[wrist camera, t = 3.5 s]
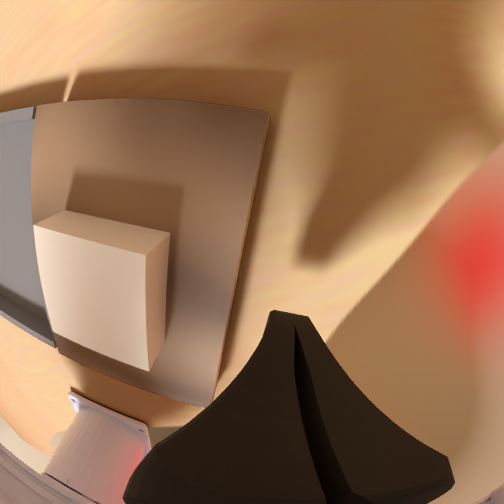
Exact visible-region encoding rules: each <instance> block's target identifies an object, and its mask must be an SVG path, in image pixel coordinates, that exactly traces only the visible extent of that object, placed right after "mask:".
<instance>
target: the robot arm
mask: <svg viewBox="0 0 504 504" xmlns="http://www.w3.org/2000/svg"><path fill="white" fill-rule="evenodd" d="M68 396H69V398H70V401H71V403H72V405H73V407H74V409H75V411H76V412H77V415H76V417H75V418H74V420H73V422H72V423H71V425H70V427H69V428H68V430H67V432H66V434H65V435H64V437H63V439H62V441H61V442H60V444H59V446H58V448H57V449H56V452H55V453H54V455H53V457H52V459H51V460H50V462H49V464H48V466H47V468H46V470H45V471H44V473H42V474H41V475H40V474H39V473H37V472H36V471H34V470H33V469H32V468H30V467H29V466H27V465H26V464H25V463H24V462H22V461H21V460H19V459H18V458H17V457H16V456H15V455H13V454H12V453H11V452H10V451H9V450H8V449H6V448H5V447H4V446H3V445H2V444H1V443H0V504H427V503H429V502H431V501H433V500H435V499H436V498H438V497H440V496H441V495H443V494H445V493H446V492H447V491H449V490H450V489H451V488H452V487H453V485H454V484H455V480H454V477H453V473H452V470H451V466H450V463H449V460H448V458H447V456H445V455H443V454H441V453H439V452H438V451H436V450H434V449H432V448H430V447H429V446H427V445H425V444H423V443H422V442H420V441H419V440H417V439H416V438H414V437H413V436H411V435H410V434H408V433H407V432H406V431H404V430H403V429H402V428H400V427H399V426H398V425H397V424H395V423H394V422H393V421H392V420H390V419H389V418H388V417H387V416H386V415H385V414H384V413H382V412H381V411H380V410H379V409H378V408H377V407H376V406H375V405H374V404H373V403H372V402H371V401H370V400H369V399H368V398H367V397H366V396H365V395H364V394H363V393H362V392H361V391H360V390H359V388H358V387H357V386H356V385H355V384H354V383H353V381H352V380H351V379H350V378H349V377H348V375H347V374H346V373H345V371H344V370H343V369H342V367H341V366H340V365H339V363H338V362H337V361H336V359H335V358H334V356H333V355H332V353H331V352H330V351H329V349H328V347H327V346H326V344H325V343H324V341H323V340H322V338H321V336H320V335H319V333H318V332H317V330H316V328H315V327H314V325H313V323H312V322H311V320H310V319H309V317H308V316H303V315H297V314H292V313H287V312H282V311H277V310H273V311H271V312H270V313H269V317H268V320H267V324H266V327H265V331H264V334H263V337H262V339H261V341H260V343H259V345H258V347H257V348H256V350H255V351H254V353H253V355H252V356H251V358H250V359H249V361H248V362H247V364H246V365H245V366H244V368H243V369H242V370H241V372H240V373H239V374H238V375H237V377H236V378H235V379H234V380H233V381H232V382H231V384H230V385H229V386H228V387H227V388H226V389H225V390H224V391H223V392H222V393H221V394H220V395H219V396H218V397H217V398H216V399H215V400H214V401H213V402H212V403H211V404H210V405H209V406H208V407H206V408H205V409H204V410H203V411H202V412H201V413H199V414H198V415H197V416H196V417H195V418H193V419H192V420H191V421H190V422H188V423H187V424H186V425H184V426H183V427H182V428H180V429H179V430H178V431H176V432H174V433H173V434H171V435H170V436H168V437H167V438H165V439H164V440H162V441H161V442H159V443H158V444H156V445H155V446H154V447H153V448H152V446H151V442H150V437H149V433H148V428H147V426H146V425H145V424H144V423H142V422H139V421H137V420H134V419H131V418H129V417H126V416H124V415H121V414H119V413H116V412H114V411H112V410H109V409H107V408H105V407H102V406H100V405H98V404H96V403H94V402H92V401H90V400H87V399H85V398H83V397H81V396H79V395H77V394H76V393H74V392H71V391H70V392H69V393H68ZM473 504H504V484H503V485H501V486H500V487H498V488H497V489H495V490H494V491H492V492H491V493H490V494H489V495H487V496H485V497H483V498H482V499H480V500H478V501H476V502H474V503H473Z"/></svg>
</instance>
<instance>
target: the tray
mask: <svg viewBox="0 0 504 504" xmlns="http://www.w3.org/2000/svg"><path fill="white" fill-rule="evenodd" d="M36 108H37V106H33V107H27V108H22V109H16V110H11V111H7V112H2V113H0V315H1V316H3V317H4V318H6V319H7V320H9V321H10V322H12V323H13V324H15V325H16V326H18V327H19V328H21V329H23V330H24V331H26V332H27V333H29V334H31V335H32V336H34V337H36V338H38V339H39V340H41V341H43V342H45V343H46V344H48V345H50V346H52V347H54V348H56V347H57V344H56V341H55V338H54V335H53V332H52V328H51V325H50V321H49V317H48V313H47V309H46V305H45V301H44V297H43V292H42V287H41V282H40V277H39V272H38V266H37V259H36V252H35V244H34V235H33V224H32V209H31V157H32V142H33V131H34V122H35V115H36Z"/></svg>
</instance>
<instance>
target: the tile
mask: <svg viewBox="0 0 504 504" xmlns="http://www.w3.org/2000/svg"><path fill="white" fill-rule="evenodd" d="M33 229H34V239H35V248H36V255H37V262H38V268H39V274H40V279H41V285H42V290H43V294H44V299H45V303H46V307H47V311H48V315H49V319H50V323H51V326H52V330H53V332H55V333H57V334H59V335H61V336H63V337H65V338H67V339H69V340H71V341H73V342H76V343H78V344H80V345H82V346H84V347H87V348H89V349H91V350H94V351H96V352H98V353H101V354H103V355H106V356H108V357H111V358H113V359H116V360H118V361H121V362H123V363H126V364H129V365H132V366H134V367H137V368H140V369H143V370H146V371H150V369H151V367H152V365H153V363H154V361H155V359H156V357H157V355H158V353H159V351H160V349H161V347H162V345H163V343H164V342H165V319H166V290H167V271H168V256H169V243H170V233H169V232H164V231H159V230H155V229H150V228H146V227H141V226H136V225H132V224H127V223H122V222H118V221H113V220H109V219H104V218H99V217H95V216H90V215H86V214H81V213H76V212H72V211H67V210H64V211H62V212H60V213H58V214H55V215H53V216H51V217H49V218H47V219H45V220H42V221H40V222H38V223H36V224H34V225H33Z"/></svg>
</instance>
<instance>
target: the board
mask: <svg viewBox="0 0 504 504" xmlns="http://www.w3.org/2000/svg"><path fill="white" fill-rule="evenodd" d="M269 122H270V116H269V112H264V111H259V110H253V109H247V108H241V107H235V106H228V105H220V104H212V103H203V102H193V101H182V100H166V99H133V98H126V99H93V100H79V101H68V102H58V103H50V104H43V105H37V108H36V115H35V122H34V131H33V142H32V157H31V209H32V224H33V225H34V224H36V223H38V222H40V221H42V220H45V219H47V218H49V217H51V216H53V215H55V214H58V213H60V212H62V211H64V210H67V211H72V212H76V213H81V214H86V215H90V216H95V217H99V218H104V219H109V220H113V221H118V222H122V223H127V224H132V225H136V226H141V227H146V228H150V229H155V230H159V231H164V232H169V233H170V243H169V256H168V271H167V290H166V319H165V342H164V343H163V345H162V347H161V349H160V351H159V353H158V355H157V357H156V359H155V361H154V363H153V365H152V367H151V369H150V371H146V370H143V369H140V368H137V367H134V366H132V365H129V364H126V363H123V362H121V361H118V360H116V359H113V358H111V357H108V356H106V355H103V354H101V353H98V352H96V351H94V350H91V349H89V348H87V347H84V346H82V345H80V344H78V343H76V342H73V341H71V340H69V339H67V338H65V337H63V336H61V335H59V334H57V333H55V332H53V330H52V332H53V335H54V338H55V341H56V344H57V347H58V350H59V353H60V354H62V355H64V356H66V357H68V358H70V359H72V360H74V361H76V362H78V363H80V364H82V365H84V366H86V367H88V368H91V369H93V370H95V371H97V372H100V373H102V374H104V375H107V376H109V377H111V378H114V379H116V380H119V381H121V382H124V383H127V384H129V385H132V386H135V387H137V388H140V389H143V390H146V391H149V392H152V393H155V394H158V395H161V396H164V397H168V398H171V399H174V400H178V401H181V402H185V403H188V404H192V405H196V406H200V407H204V408H206V407H208V406H209V405H210V404H211V403H212V402H213V398H214V394H215V390H216V386H217V382H218V376H219V371H220V366H221V360H222V355H223V350H224V345H225V339H226V334H227V329H228V324H229V319H230V314H231V308H232V303H233V298H234V293H235V288H236V283H237V278H238V273H239V268H240V263H241V258H242V253H243V248H244V243H245V238H246V233H247V228H248V223H249V218H250V213H251V209H252V204H253V199H254V194H255V189H256V184H257V179H258V175H259V170H260V165H261V160H262V155H263V151H264V146H265V141H266V137H267V132H268V127H269ZM33 235H34V229H33ZM34 244H35V239H34ZM35 252H36V248H35ZM36 259H37V255H36ZM37 266H38V262H37ZM38 272H39V268H38ZM39 277H40V274H39ZM40 282H41V279H40ZM41 287H42V285H41ZM42 292H43V290H42ZM43 297H44V294H43ZM44 301H45V299H44ZM45 305H46V303H45ZM46 309H47V307H46ZM47 313H48V311H47ZM48 317H49V315H48ZM49 321H50V319H49ZM50 325H51V323H50ZM51 328H52V326H51Z"/></svg>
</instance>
